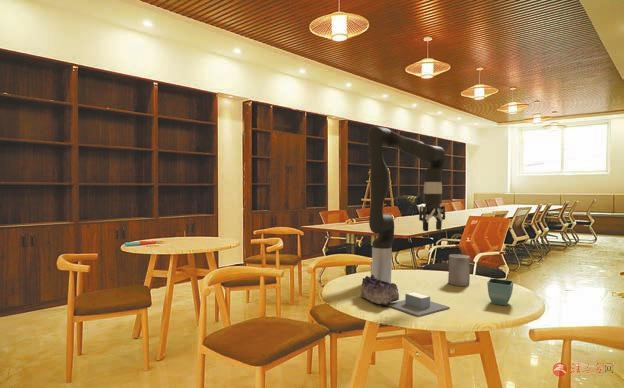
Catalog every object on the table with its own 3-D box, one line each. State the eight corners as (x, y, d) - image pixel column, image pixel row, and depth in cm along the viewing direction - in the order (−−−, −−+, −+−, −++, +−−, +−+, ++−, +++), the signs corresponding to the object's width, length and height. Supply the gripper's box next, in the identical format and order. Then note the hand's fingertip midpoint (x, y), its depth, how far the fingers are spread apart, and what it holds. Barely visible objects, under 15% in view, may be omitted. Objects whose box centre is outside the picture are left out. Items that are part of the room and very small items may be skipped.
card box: (421, 309, 152) (421, 298, 152) (405, 303, 158) (405, 293, 158) (430, 307, 154) (430, 296, 154) (413, 301, 161) (414, 291, 161)
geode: (350, 296, 170) (352, 272, 171) (372, 297, 176) (374, 273, 177) (379, 306, 152) (381, 279, 153) (403, 306, 158) (404, 280, 159)
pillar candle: (453, 280, 201) (454, 250, 201) (473, 284, 194) (473, 253, 194) (444, 283, 194) (445, 252, 194) (464, 287, 187) (464, 255, 187)
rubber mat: (386, 305, 158) (386, 304, 158) (417, 298, 168) (417, 297, 168) (418, 316, 145) (418, 315, 145) (449, 308, 155) (449, 306, 155)
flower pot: (511, 308, 156) (511, 285, 156) (486, 304, 161) (487, 282, 161) (513, 302, 164) (513, 280, 163) (489, 299, 168) (490, 277, 168)
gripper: (436, 192, 179) (435, 228, 180) (414, 192, 171) (414, 230, 172) (450, 192, 173) (450, 230, 174) (429, 192, 165) (428, 232, 165)
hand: (432, 230), depth 173 cm, fingers open, 8 cm apart
